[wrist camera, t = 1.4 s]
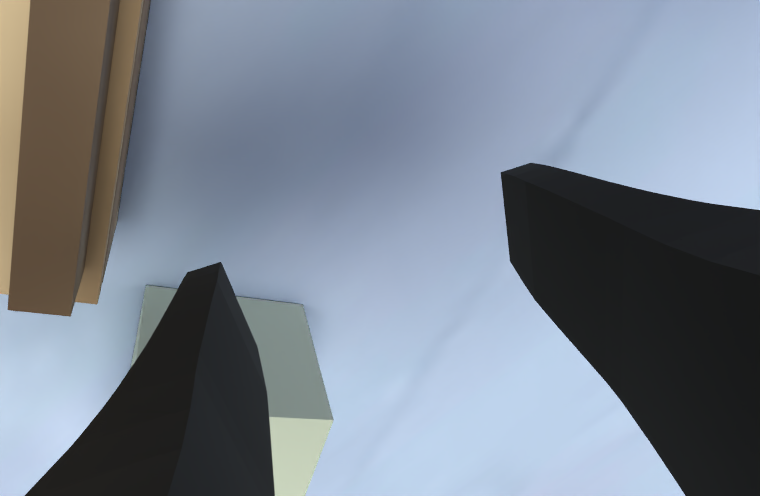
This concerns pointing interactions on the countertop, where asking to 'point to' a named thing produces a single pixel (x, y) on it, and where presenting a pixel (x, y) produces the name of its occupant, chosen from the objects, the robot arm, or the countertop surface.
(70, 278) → the lid
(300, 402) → the grey-green cube
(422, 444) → the countertop surface
